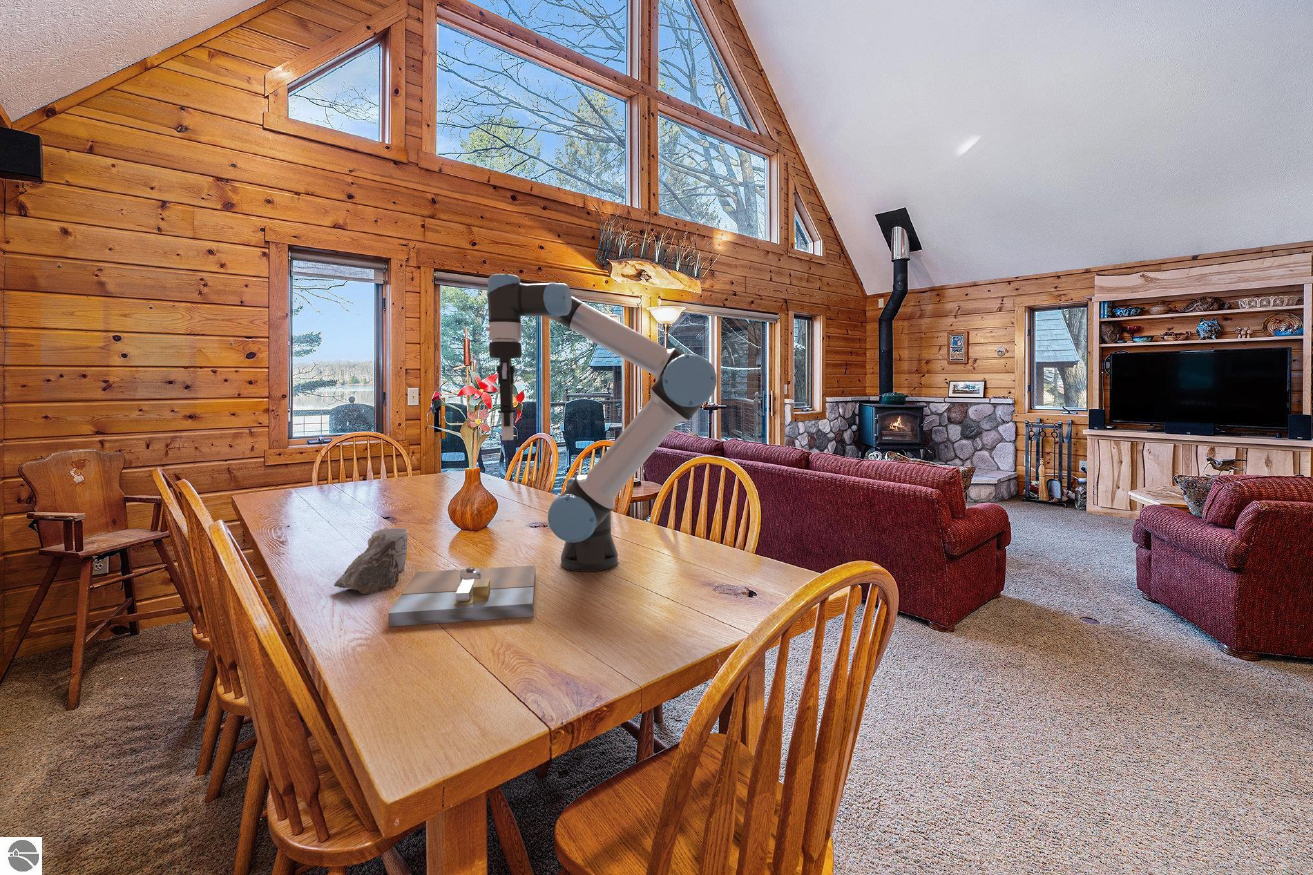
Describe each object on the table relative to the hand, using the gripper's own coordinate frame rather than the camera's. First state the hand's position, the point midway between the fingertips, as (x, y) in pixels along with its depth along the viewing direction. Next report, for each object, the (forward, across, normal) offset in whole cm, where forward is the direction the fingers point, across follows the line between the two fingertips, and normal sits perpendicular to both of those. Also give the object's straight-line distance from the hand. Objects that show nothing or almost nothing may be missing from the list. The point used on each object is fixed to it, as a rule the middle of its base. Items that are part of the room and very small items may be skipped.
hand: (507, 439), depth 143 cm
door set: (+34, +13, -8) cm, 38 cm away
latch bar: (+31, +17, -8) cm, 36 cm away
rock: (+35, +1, -33) cm, 48 cm away
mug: (+35, -12, -32) cm, 49 cm away
